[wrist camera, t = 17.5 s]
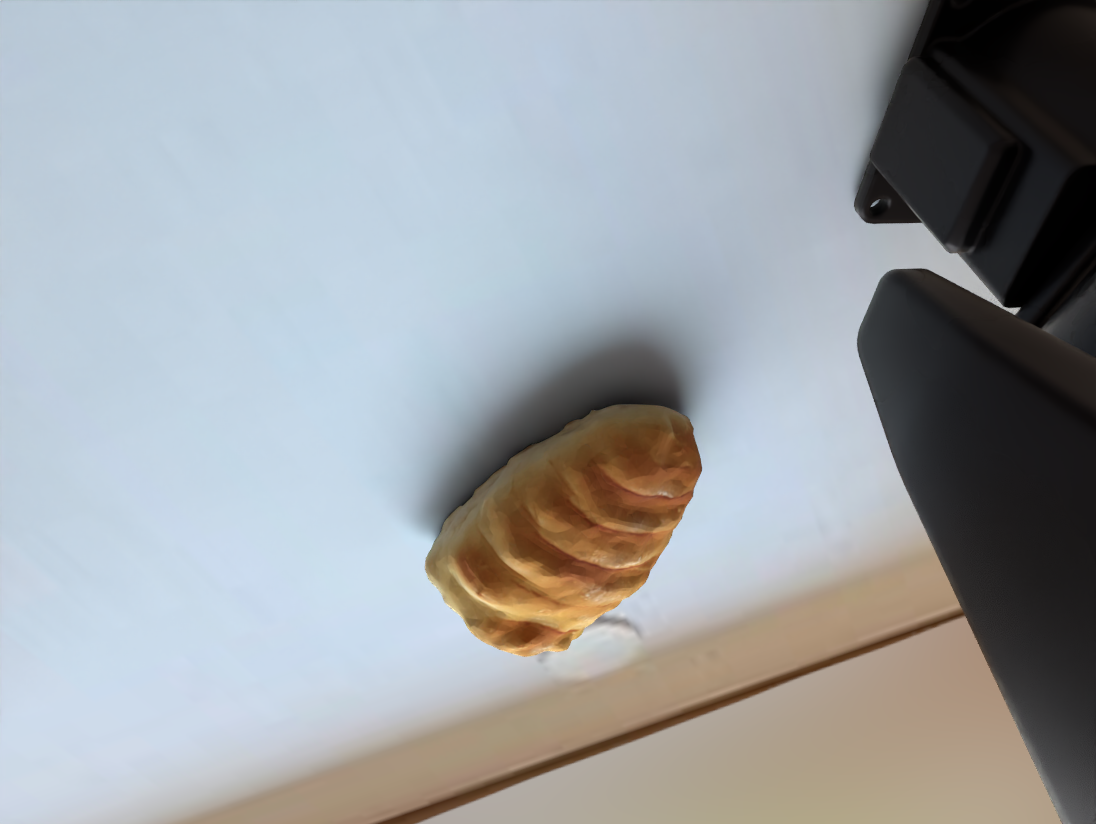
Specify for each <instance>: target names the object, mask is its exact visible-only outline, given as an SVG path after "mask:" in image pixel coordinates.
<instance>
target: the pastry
mask: <svg viewBox="0 0 1096 824" xmlns="http://www.w3.org/2000/svg"><path fill="white" fill-rule="evenodd" d="M693 430H694V428H693V426H692V424H691V422H690V420H689V419H688V417H687V416H684V415H682V414H680V413H678V412H677V411H675V410H672V409H670V408H667V407H663V406H657V405H641V404H618V405H612V406H609V407H606V408H603V409H601V410H596V411H595V410H593V409H592V411H591V412H590V413H589V414H588V415H587V416H586V417H584V418H583V419H576V420H574V421H571V422H569V423H568V424H566V425H565V427H564V429H563V430H562V431H560V432H559V433H557V434H555V435H554V436H552V437H550V438H548V439H546V440H544V441H542V442H540V443H536V444H532V445H529V446H528V447H527V448H525V449H524V450H523V451H521V452H519V453H518V454H516V455H515V456H513V457H512V458H510V459H509V461H508V463H507V465H504V466H503V467H502V468H500V469H499V470H498V471H496V472H495V473H493V474H492V475H491V476H490V477H489V479H488V480H487V481H486V482H485V483H483V484H482V485H481V486H480V487H478V488H477V489H476V490H475V491H474V494H473V496H472V497H471V498H470V499H469V500H468V501H467V502H466V503H465V504H464V505H463V506H459V507H458V508H456V510H455V511H454V512H453V513H452V514H450V515H449V517H448V518H447V519H446V520H445V522H444V524H443V527H442V530H441V533H440V535H439V536H438V537H437V539H436V540H435V541H434V544H433V546H432V548H431V550H430V552H429V553H428V555H427V557H426V561H425V570H426V573H427V576H428V579H429V580H430V582H431V583H432V584H433V585H434V586H435V587H436V588H437V589H438V590H439V591H440V593H441V594H442V597H443V599H444V602H445V603H446V604H447V605H448V606H449V607H450V608H451V609H452V610H453V611H455V612H456V613H458V614H459V615H460V616H461V617H462V618H463V620H464V622H465V624H466V626H467V628H468V629H469V630H470V631H471V633H472V634H474V635H475V636H476V637H477V638H478V639H480V640H481V641H483V642H485V643H486V644H489V645H491V646H493V647H495V648H497V649H499V650H502V651H506V652H509V653H512V654H516V655H520V656H523V657H525V656H526V657H527V656H533V655H537V654H539V653H541V652H543V651H555V652H560V651H564V650H567V649H568V648H569V645H570V643H571V641H572V640H574V639H576V638H578V637H579V636H580V635H581V634H582V633H583V630H584V628H585V627H587V626H589V625H590V624H592V623H593V622H594V621H595V619H597V618H598V617H600V616H601V615H602V614H604V613H605V612H607V611H610V610H612V609H614V608H615V607H617V606H618V605H619V604H620V602H621V601H622V599H625V598H627V597H629V596H631V595H632V594H633V593H635V592H636V591H637V590H638V589H639V588H640V587H641V586H642V585H643V584H644V583H645V582H646V580H647V578H648V576H649V573H650V570H651V569H652V567H653V566H654V565H655V563H656V561H657V559H658V558H659V556H660V554H661V553H662V552H663V550H664V549H665V547H666V546H667V544H668V543H669V540H670V538H671V536H672V532H673V529H675V528H676V526H677V525H678V523H679V522H680V520H681V519H682V515H683V513H684V510H685V508H686V506H687V504H688V503H689V501H690V500H691V498H692V497H693V490H694V487H695V485H696V482H697V480H698V478H699V476H700V474H701V471H702V465H701V458H700V455H699V452H698V448H697V445H696V442H695V438H694V435H693Z"/></svg>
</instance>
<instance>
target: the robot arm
mask: <svg viewBox="0 0 1096 824" xmlns="http://www.w3.org/2000/svg"><path fill="white" fill-rule="evenodd" d="M878 199H880V201H879V202H878V204H876V205H875V206H873V207H870V206H871V205H872V203H873V202H875V201H876V200H878ZM854 207H855V210H856V212H857V213H858V214H859V216H860V217H861V218H862V219H863V220H864V221H865V222H866V223H872V224H878V223H923V224H924V225H925V226H926V227H927V228H928V230H929V231H930V232H931V233H932V234H933V236H934V237H935V238H936V239H937V240H938V241H939V243H940V244H941V245H942V246H943V247H944V248H945V250H946V251H948V252H949V253H958V254H959V255H960V256H961V258H962V259H963V260H964V261H965V262H966V263H967V265H968V266H969V267H970V268H971V269H972V270H973V272H974V273H975V274H976V275H977V276H978V277H979V279H980V280H981V281H982V282H983V283H984V284H985V285H986V287H987V288H988V289H989V290H990V291H991V292H992V294H993V295H994V296H995V297H996V298H997V299H998V301H999V302H1000V303H1001V304H1002V305H1003V306H1004V307H1008V308H1017V307H1021V308H1020V310H1019V311H1018V312H1017V313H1016V314H1015V315H1013V314H1012V313H1010V312H1008V311H1006V310H1004V309H1002V308H1000V307H998V306H996V305H994V304H993V303H991V302H989V301H987V300H985V299H983V298H981V297H979V296H977V295H975V294H974V293H972V292H970V291H968V290H966V289H964V288H962V287H960V286H958V285H956V284H955V283H953V282H951V281H949V280H947V279H945V278H943V277H941V276H939V275H937V274H935V273H934V272H932V271H929V270H927V269H894V270H891V271H889V272H887V273H886V274H885V275H884V276H883V277H882V278H881V280H880V282H879V284H878V286H877V288H876V291H875V293H874V295H873V298H872V300H871V302H870V305H869V307H868V310H867V312H866V314H865V317H864V319H863V321H862V324H861V326H860V329H859V332H858V338H857V347H858V353H859V357H860V360H861V363H862V366H863V369H864V372H865V375H866V378H867V381H868V384H869V387H870V390H871V393H872V396H873V399H874V402H875V405H876V408H877V411H878V414H879V417H880V420H881V423H882V426H883V429H884V431H885V434H886V437H887V440H888V443H889V446H890V449H891V452H892V455H893V458H894V460H895V463H896V466H897V468H898V471H899V473H900V476H901V478H902V480H903V483H904V485H905V487H906V489H907V492H908V494H909V496H910V498H911V500H912V502H913V505H914V507H915V509H916V511H917V513H918V515H919V517H920V520H921V522H922V524H923V526H924V528H925V530H926V532H927V535H928V537H929V539H930V541H931V543H932V545H933V547H934V550H935V552H936V554H937V556H938V558H939V560H940V563H941V565H942V567H943V569H944V571H945V573H946V575H947V578H948V580H949V582H950V584H951V586H952V588H953V590H954V593H955V595H956V597H957V599H958V601H959V603H960V605H961V608H962V610H963V612H964V614H965V616H966V618H967V621H968V623H969V625H970V627H971V629H972V631H973V633H974V635H975V638H976V640H977V642H978V644H979V646H980V648H981V650H982V653H983V655H984V657H985V659H986V661H987V663H988V666H989V668H990V670H991V672H992V674H993V676H994V678H995V680H996V683H997V685H998V687H999V689H1000V691H1001V694H1002V696H1003V698H1004V700H1005V702H1006V704H1007V706H1008V708H1009V711H1010V713H1011V715H1012V717H1013V719H1014V721H1015V724H1016V726H1017V728H1018V730H1019V732H1020V734H1021V736H1022V739H1023V741H1024V743H1025V745H1026V747H1027V749H1028V751H1029V754H1030V756H1031V758H1032V760H1033V762H1034V764H1035V767H1036V769H1037V771H1038V773H1039V775H1040V777H1041V779H1042V781H1043V784H1044V786H1045V788H1046V790H1047V792H1048V794H1049V797H1050V799H1051V801H1052V803H1053V805H1054V807H1055V809H1056V812H1057V814H1058V816H1059V818H1060V820H1061V822H1062V824H1096V0H930V2H929V5H928V7H927V10H926V13H925V15H924V18H923V21H922V23H921V26H920V29H919V31H918V34H917V36H916V39H915V42H914V44H913V47H912V50H911V52H910V55H909V58H908V60H907V63H906V64H905V65H904V66H903V68H902V71H901V74H900V76H899V79H898V82H897V84H896V87H895V90H894V92H893V95H892V98H891V100H890V103H889V106H888V108H887V111H886V113H885V116H884V119H883V121H882V124H881V127H880V129H879V132H878V135H877V137H876V140H875V143H874V145H873V148H872V151H871V153H870V161H869V164H868V166H867V169H866V171H865V174H864V177H863V179H862V182H861V185H860V187H859V190H858V193H857V195H856V198H855V202H854Z"/></svg>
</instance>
